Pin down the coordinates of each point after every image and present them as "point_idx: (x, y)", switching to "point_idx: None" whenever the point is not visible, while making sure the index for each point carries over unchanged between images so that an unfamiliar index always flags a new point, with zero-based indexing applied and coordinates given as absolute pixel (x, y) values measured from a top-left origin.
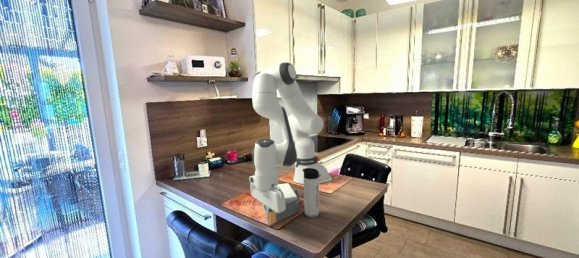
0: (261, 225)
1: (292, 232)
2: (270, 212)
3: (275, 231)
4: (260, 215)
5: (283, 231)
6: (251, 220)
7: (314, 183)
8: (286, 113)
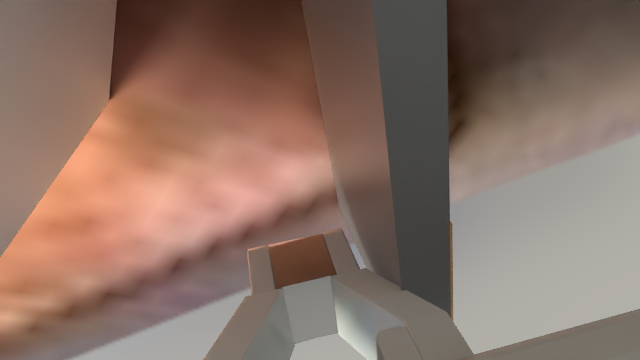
0: None
1: (607, 28)
2: (452, 312)
3: (465, 173)
4: (37, 210)
5: (522, 105)
6: (130, 314)
7: None
8: None
